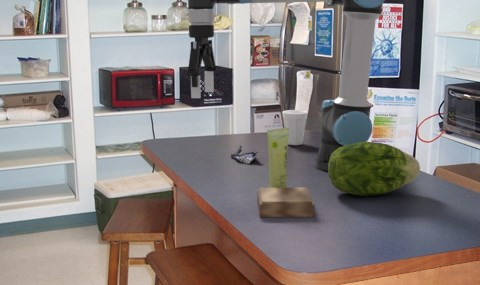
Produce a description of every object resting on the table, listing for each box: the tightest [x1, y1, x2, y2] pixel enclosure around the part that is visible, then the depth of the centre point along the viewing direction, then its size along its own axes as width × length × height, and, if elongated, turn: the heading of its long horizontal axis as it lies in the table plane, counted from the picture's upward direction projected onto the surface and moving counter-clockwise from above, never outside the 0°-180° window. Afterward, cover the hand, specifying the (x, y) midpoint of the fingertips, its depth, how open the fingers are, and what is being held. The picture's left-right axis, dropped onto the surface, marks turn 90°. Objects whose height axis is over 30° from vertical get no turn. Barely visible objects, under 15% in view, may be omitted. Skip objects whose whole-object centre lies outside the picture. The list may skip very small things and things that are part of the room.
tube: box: [266, 127, 289, 188], centre depth 179 cm, size 6×5×20 cm
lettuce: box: [327, 141, 421, 197], centre depth 180 cm, size 15×27×16 cm, turn 97°
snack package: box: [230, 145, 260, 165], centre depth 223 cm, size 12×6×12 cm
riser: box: [256, 186, 315, 218], centre depth 168 cm, size 14×14×4 cm
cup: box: [282, 109, 309, 146], centre depth 247 cm, size 10×10×13 cm
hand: (202, 95), depth 191 cm, fingers open, 13 cm apart
